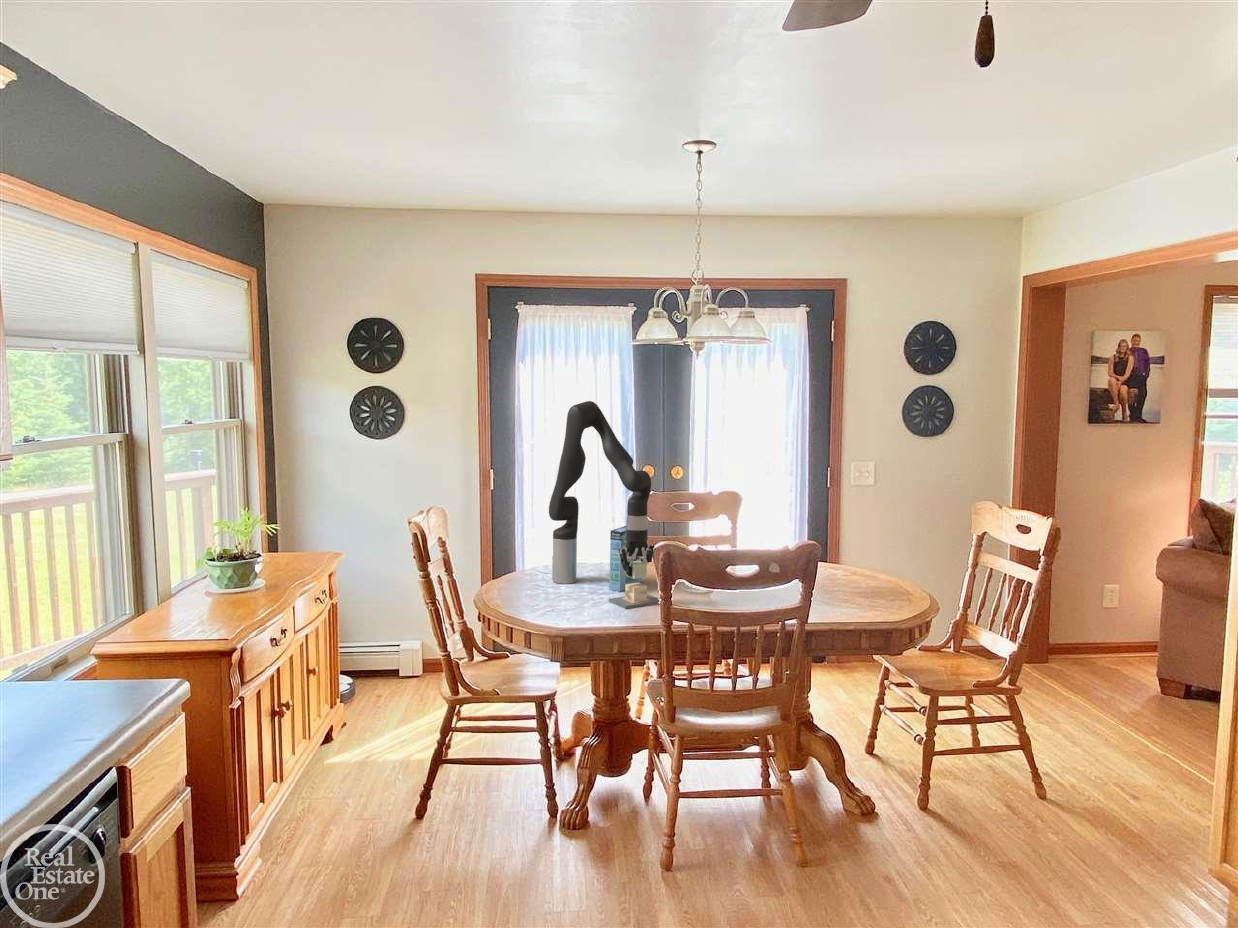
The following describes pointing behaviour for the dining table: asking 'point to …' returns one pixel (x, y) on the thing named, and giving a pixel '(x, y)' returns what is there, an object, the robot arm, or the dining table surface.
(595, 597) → the dining table surface
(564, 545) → the robot arm
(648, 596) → the slate board
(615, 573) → the gum box
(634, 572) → the sage top cube
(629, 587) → the maple base block
